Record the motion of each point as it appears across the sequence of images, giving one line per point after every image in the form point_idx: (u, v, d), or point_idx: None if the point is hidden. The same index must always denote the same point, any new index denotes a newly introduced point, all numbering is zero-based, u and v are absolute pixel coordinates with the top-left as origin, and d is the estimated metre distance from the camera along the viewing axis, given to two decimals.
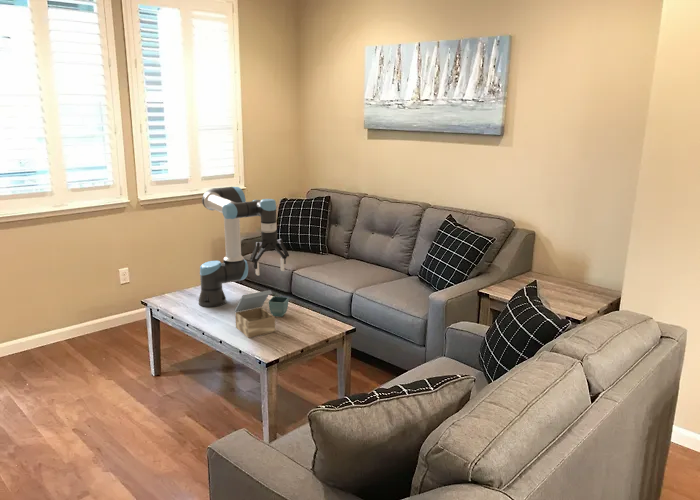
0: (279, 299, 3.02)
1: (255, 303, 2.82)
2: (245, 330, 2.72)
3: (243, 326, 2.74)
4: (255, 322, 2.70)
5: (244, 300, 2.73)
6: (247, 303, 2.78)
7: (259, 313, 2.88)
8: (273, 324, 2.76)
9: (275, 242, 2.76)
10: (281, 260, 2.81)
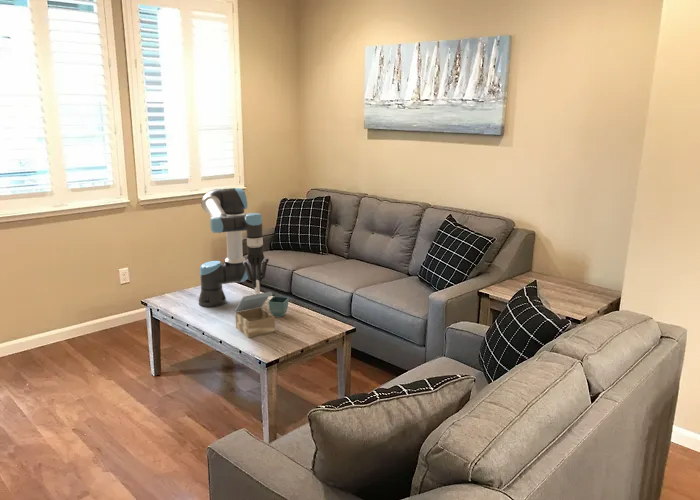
0: (279, 299, 3.02)
1: (255, 304, 2.82)
2: (245, 330, 2.72)
3: (243, 326, 2.74)
4: (255, 322, 2.70)
5: (244, 301, 2.73)
6: (247, 304, 2.78)
7: (259, 313, 2.88)
8: (273, 324, 2.76)
9: (261, 257, 2.69)
10: None
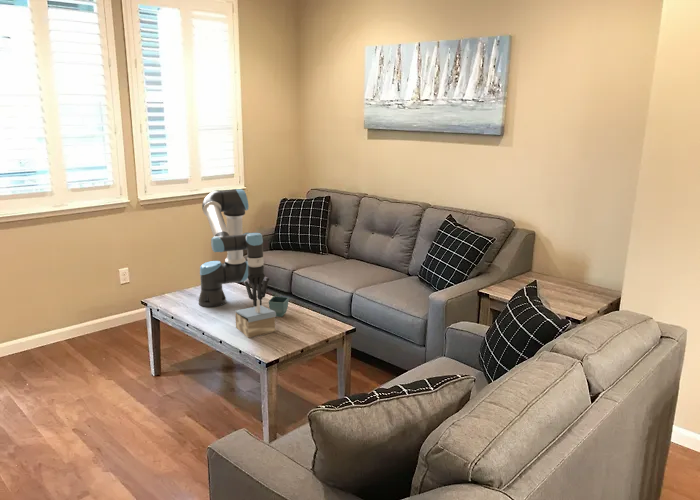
0: (279, 299, 3.02)
1: None
2: (245, 330, 2.72)
3: (243, 326, 2.74)
4: (255, 322, 2.70)
5: None
6: None
7: None
8: (273, 324, 2.76)
9: (262, 276, 2.71)
10: None
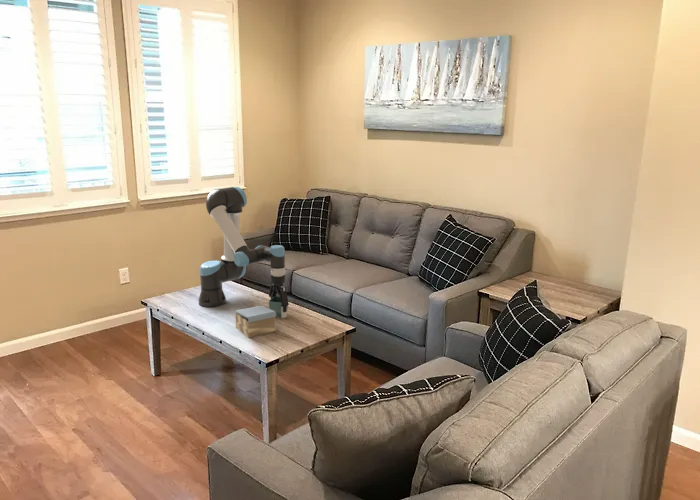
0: (279, 299, 3.02)
1: None
2: (245, 330, 2.72)
3: (243, 326, 2.74)
4: (255, 322, 2.70)
5: None
6: None
7: None
8: (273, 324, 2.76)
9: (278, 287, 2.93)
10: None
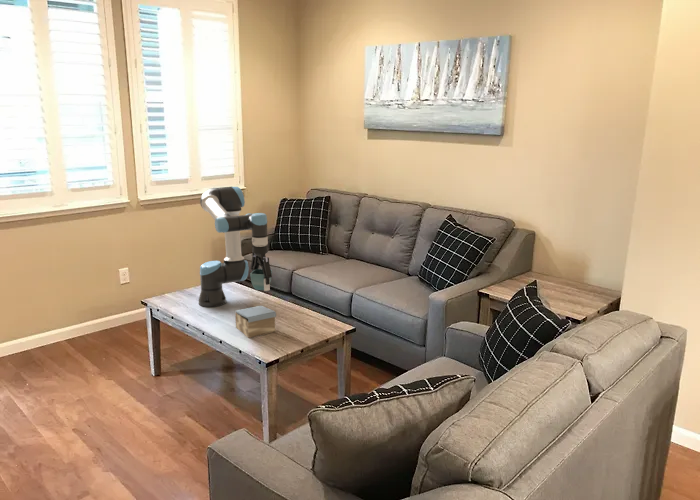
0: (262, 272, 2.83)
1: None
2: (245, 330, 2.72)
3: (243, 326, 2.74)
4: (255, 322, 2.70)
5: None
6: None
7: None
8: (273, 324, 2.76)
9: (260, 258, 2.74)
10: None
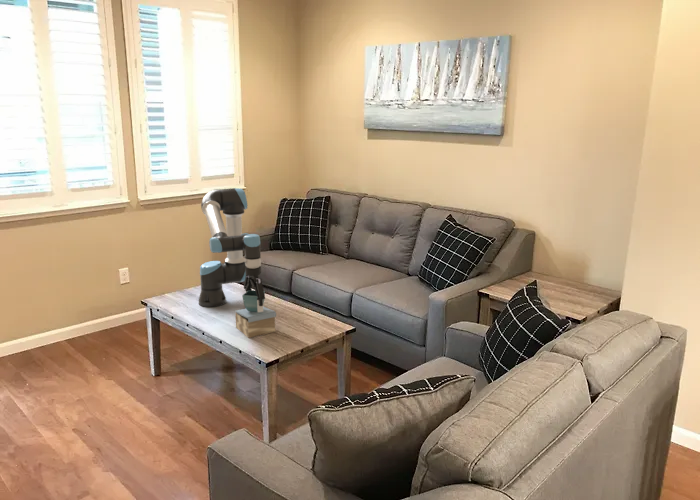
0: (255, 293, 2.80)
1: None
2: (245, 330, 2.72)
3: (243, 326, 2.74)
4: (255, 322, 2.70)
5: None
6: None
7: None
8: (273, 324, 2.76)
9: (253, 279, 2.71)
10: None
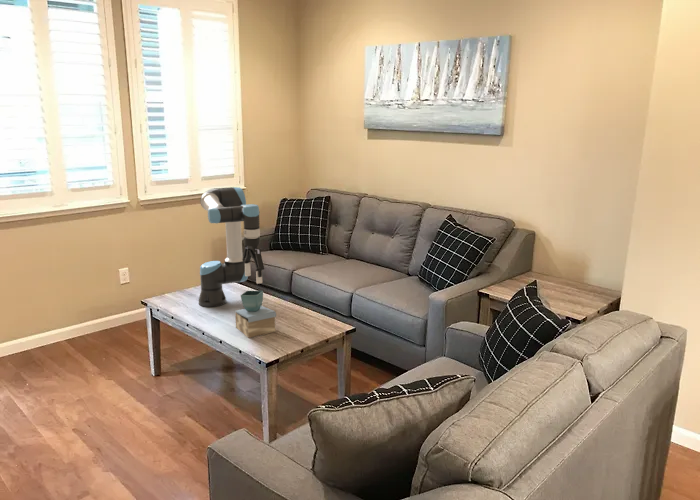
0: (253, 293, 2.82)
1: None
2: (245, 330, 2.72)
3: (243, 326, 2.74)
4: (255, 322, 2.70)
5: None
6: None
7: None
8: (273, 324, 2.76)
9: (252, 250, 2.67)
10: None
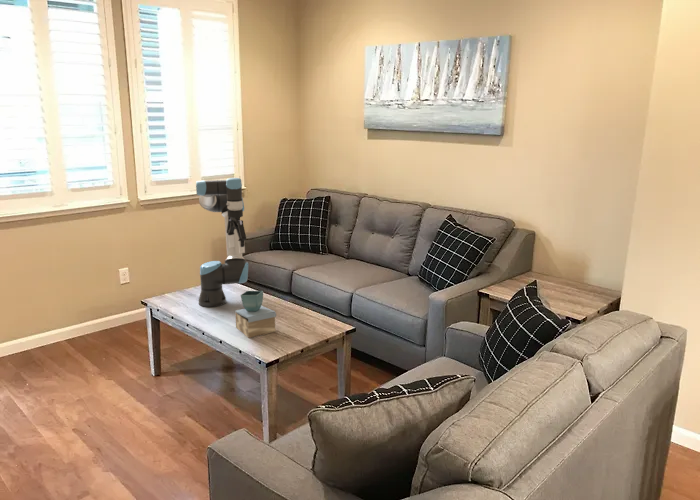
0: (253, 294, 2.82)
1: None
2: (245, 330, 2.72)
3: (243, 326, 2.74)
4: (255, 322, 2.70)
5: None
6: None
7: None
8: (273, 324, 2.76)
9: (235, 221, 2.81)
10: None
